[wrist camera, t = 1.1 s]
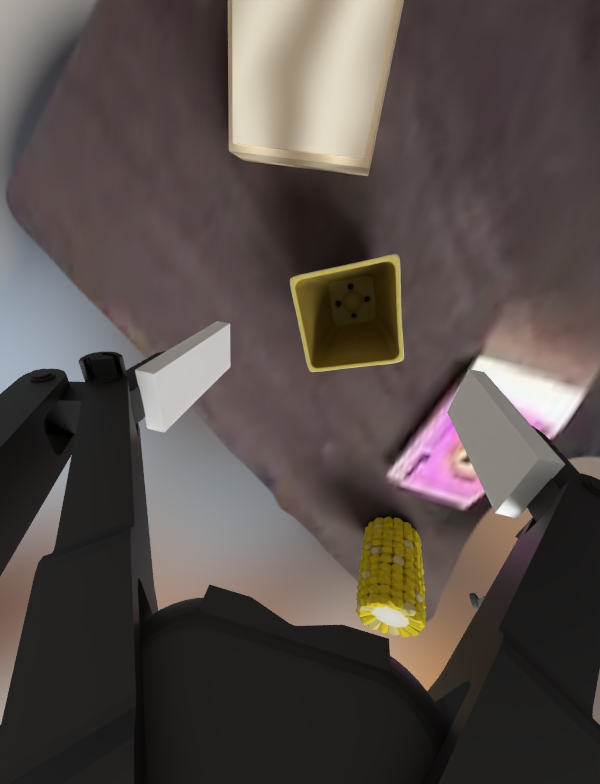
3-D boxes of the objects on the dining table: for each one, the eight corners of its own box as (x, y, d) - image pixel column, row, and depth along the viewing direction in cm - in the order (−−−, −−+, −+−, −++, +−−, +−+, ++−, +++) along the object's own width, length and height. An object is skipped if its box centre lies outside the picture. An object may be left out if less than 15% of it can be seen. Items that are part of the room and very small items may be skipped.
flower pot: (307, 266, 30) (287, 277, 22) (390, 247, 28) (400, 252, 20) (321, 341, 34) (308, 373, 26) (394, 331, 32) (404, 362, 24)
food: (410, 542, 52) (357, 526, 53) (434, 517, 43) (370, 500, 45) (413, 648, 41) (346, 625, 43) (444, 642, 33) (360, 613, 34)
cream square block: (412, -42, 19) (422, -102, 15) (368, 176, 25) (368, 167, 22) (247, -48, 20) (224, -105, 17) (244, 160, 26) (227, 149, 23)
